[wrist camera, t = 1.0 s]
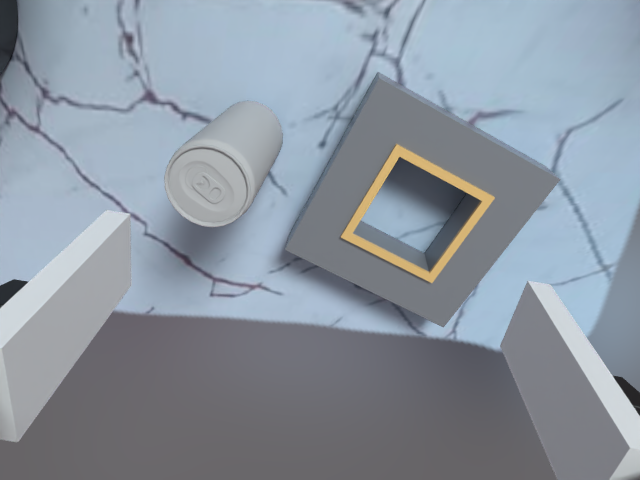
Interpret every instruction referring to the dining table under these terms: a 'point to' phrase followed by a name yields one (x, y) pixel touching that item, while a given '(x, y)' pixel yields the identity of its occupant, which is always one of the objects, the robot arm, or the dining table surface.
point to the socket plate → (438, 159)
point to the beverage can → (224, 165)
